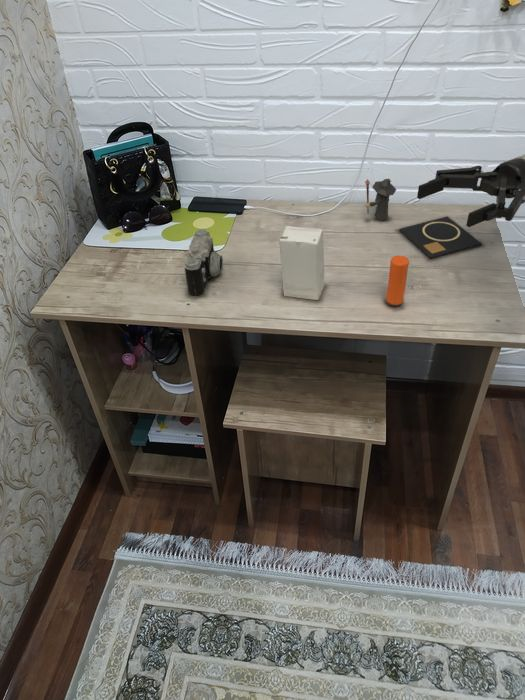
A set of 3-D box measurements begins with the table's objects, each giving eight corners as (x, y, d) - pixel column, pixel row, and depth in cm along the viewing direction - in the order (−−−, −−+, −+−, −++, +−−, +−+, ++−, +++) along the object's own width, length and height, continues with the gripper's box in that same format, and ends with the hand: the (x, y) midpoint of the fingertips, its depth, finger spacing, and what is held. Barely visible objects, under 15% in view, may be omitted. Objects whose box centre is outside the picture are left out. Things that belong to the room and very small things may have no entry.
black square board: (480, 245, 137) (481, 242, 136) (430, 259, 133) (430, 256, 133) (446, 218, 146) (447, 215, 146) (399, 230, 143) (399, 228, 143)
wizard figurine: (379, 210, 151) (383, 167, 143) (396, 217, 148) (401, 173, 140) (359, 222, 147) (362, 178, 139) (376, 229, 144) (381, 185, 136)
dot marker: (406, 306, 121) (412, 262, 114) (391, 310, 120) (396, 267, 113) (397, 296, 124) (403, 253, 116) (382, 300, 123) (387, 257, 115)
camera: (216, 297, 127) (211, 260, 120) (186, 297, 128) (180, 259, 121) (227, 260, 137) (222, 223, 131) (199, 259, 138) (194, 223, 131)
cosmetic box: (324, 286, 128) (326, 228, 118) (318, 302, 124) (319, 243, 114) (288, 281, 130) (287, 223, 120) (281, 296, 126) (278, 238, 116)
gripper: (564, 216, 114) (487, 250, 106) (470, 171, 130) (398, 198, 123) (576, 181, 109) (496, 214, 101) (477, 139, 125) (402, 165, 117)
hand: (442, 205), depth 112 cm, fingers open, 13 cm apart
